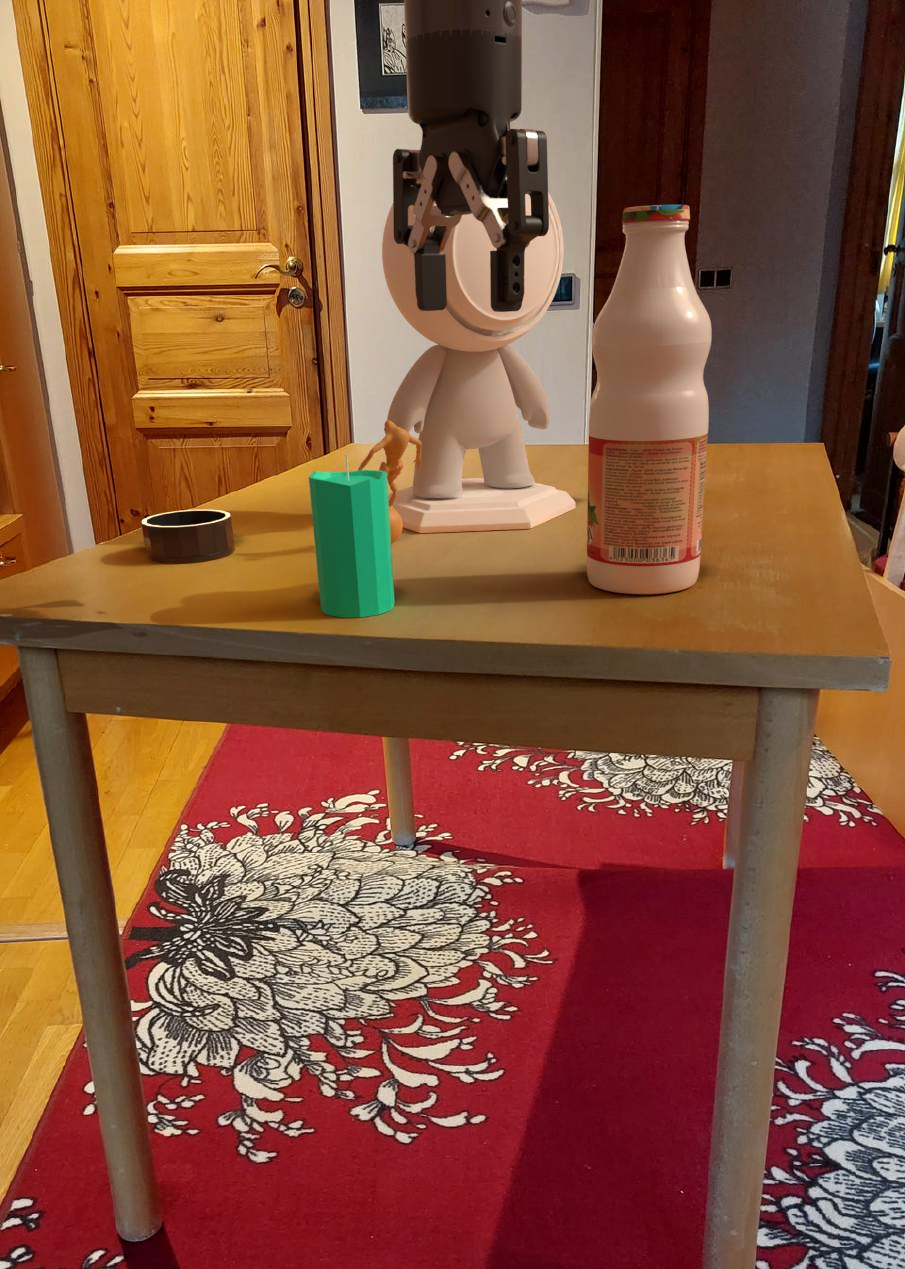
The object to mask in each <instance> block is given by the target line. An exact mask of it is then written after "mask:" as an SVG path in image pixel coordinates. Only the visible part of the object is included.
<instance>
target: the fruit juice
mask: <svg viewBox="0 0 905 1269" xmlns="http://www.w3.org/2000/svg"><path fill="white" fill-rule="evenodd" d="M621 220H622V221H621V224H622V233H623V234H624V235H625V246H624V250H623V253H622V258H621V262H620V264H619V268H618V271H617V274H616V278H615V281H614V284H613V286H612V288H611V292H610V293H609V296H608V298H607V300H606V302H605V304H604V305H603V307H602V309H601V310H600V312H599V314H598V315H597V317H596V319H595V322H594V324H593V329H592V335H591V336H592V337H591V349H592V354H593V355H592V356H593V359H594V363H595V370H596V373H597V374H596V376H597V377H596V385H595V388H594V390H593V393H592V395H591V398H590V405H589V414H588V431H587V433H588V434H587V435H588V449H587V450H588V451H587V452H588V453H587V454H588V455H587V457H588V458H587V460H588V461H587V510H586V511H587V514H586V516H587V517H586V524H587V525H586V575H587V580H588V582H589V584H590V585H591V586H593V587H594V588H597V589H599V590H602V591H606V592H610V593H617V594H624V595H625V594H626V595H659V594H660V595H661V594H667V593H674V592H680V591H684V590H686V589H689V588H691V587H692V586H694V585H696V582H697V581H698V578H699V574H700V567H701V553H702V538H703V537H702V536H703V520H704V519H703V518H704V503H705V489H706V488H705V487H706V486H705V485H706V469H707V451H708V437H709V428H710V427H709V425H710V424H709V423H710V419H709V418H710V406H709V396H708V391H707V388H706V386H705V382H704V371H705V370H704V369H705V366H706V364H707V360H708V357H709V353H710V351H711V346H712V340H713V339H712V338H713V337H712V336H713V334H712V332H713V331H712V322H711V317H710V314H709V313H708V310H707V309H706V307H705V305H704V304H703V302H702V300H701V298H700V296H699V295H698V293H697V290H696V287H695V284H694V280H693V278H692V273H691V270H690V265H689V261H688V255H687V251H686V244H685V243H686V242H685V235H686V232H687V231H688V230H689V226H690V225H689V224H690V221H691V211H690V206H689V205H687V204H655V205H641V206H640V205H639V206H631V207H630V206H629V207H625V208H624V209H623V211H622V217H621Z"/></svg>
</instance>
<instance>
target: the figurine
mask: <svg viewBox="0 0 905 1269" xmlns="http://www.w3.org/2000/svg"><path fill="white" fill-rule="evenodd" d="M383 425H384V427H383V431H384V434H385V435H384V437H383V438H382V439H381V440H380V441H379V442H378V443H376V444H375V445H374V446H373V447H372V448H371V449H370V451H369V452H368V453H367V455H366V456H365V458H364V459H363V460H362V462H361V463H360V465H359V466H358V469H357V471H360V470H364V468H365V467H366V466H367V465H368V464H369V463H370V461H371V460H372V458H373V456H374V454H376V453H377V452H379V451H381V450H382V449H383V450H384V454H385V459H386V462H385V461H382V462H381V463H380V465H379V468H378V470H377V471H384V472H387V484H388V485H389V488H390V490H391V493H393V494H392V496H391V498H390V500H389V501H388V502H389V518H390V534H391V545H393V544H394V543H396V542H397V541H398V540H399V539H400V537H401V536H402V532H403V529H404V527H403V522H402V518H401V516H400V514H399V513H398V512H397V511H396V510H395V509H394V508H393V503H394V501H395V499H396V497H397V491H399V488H398V485H397V484H396V483H395V482H394V481H395V480H396V479H397V478H398V476H400V475H401V473H402V470H403V469H404V467H405V466H404V461H403V460H402V458H403V456H404V454H405V451H406V449H407V448H408V445H409V444H412V445H415V448H416V451H415V453H416V454H415V456H416V455H417V459H416V458H415V459H414V460H413V462H412V463H414V467H415V466H416V465H417V464H418V465H417V468H418V466H419V465H420V467H421V446H422V444H421V441H420V440H418V439H419V438H416V437H415V436H413V435H411V434H410V432H409V433H408V432H407V431H406V430H405V429H402V428H400V427H398V426H396V425H395V424H394V423H393V422H392V421H390V420H387V419H386V420H385V422H384V424H383ZM415 462H416V464H415ZM420 467H419V468H420Z"/></svg>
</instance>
